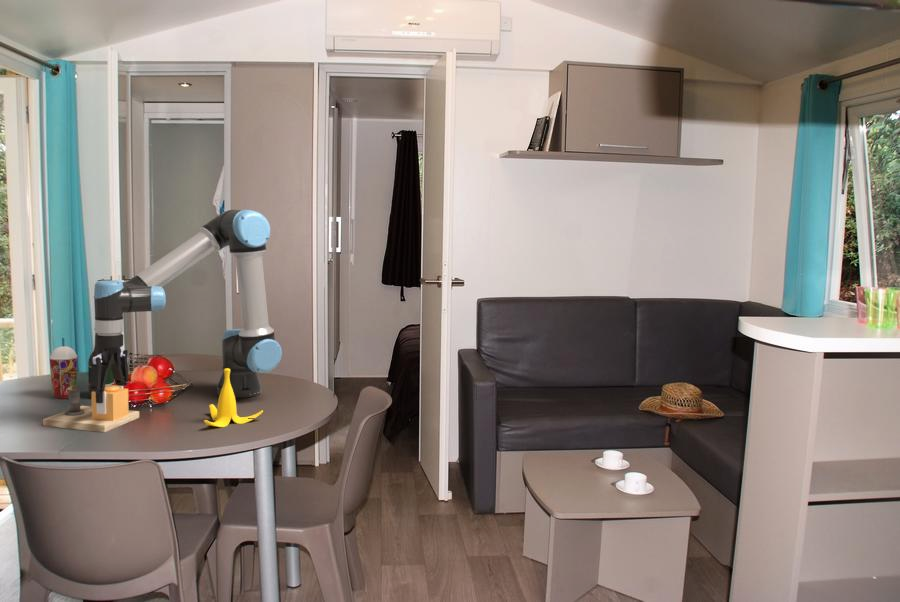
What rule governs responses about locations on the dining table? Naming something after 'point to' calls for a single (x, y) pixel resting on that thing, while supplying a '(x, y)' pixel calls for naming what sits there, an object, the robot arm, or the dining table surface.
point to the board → (84, 417)
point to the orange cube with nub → (112, 403)
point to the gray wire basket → (136, 361)
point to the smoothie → (63, 371)
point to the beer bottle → (110, 375)
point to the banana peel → (227, 407)
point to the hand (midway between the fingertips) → (110, 410)
